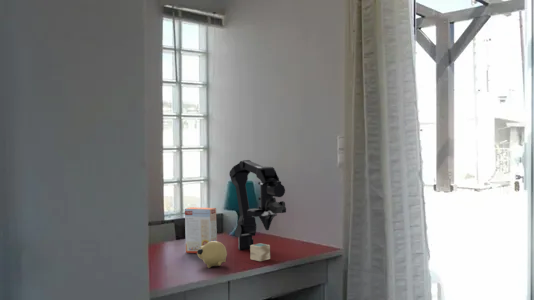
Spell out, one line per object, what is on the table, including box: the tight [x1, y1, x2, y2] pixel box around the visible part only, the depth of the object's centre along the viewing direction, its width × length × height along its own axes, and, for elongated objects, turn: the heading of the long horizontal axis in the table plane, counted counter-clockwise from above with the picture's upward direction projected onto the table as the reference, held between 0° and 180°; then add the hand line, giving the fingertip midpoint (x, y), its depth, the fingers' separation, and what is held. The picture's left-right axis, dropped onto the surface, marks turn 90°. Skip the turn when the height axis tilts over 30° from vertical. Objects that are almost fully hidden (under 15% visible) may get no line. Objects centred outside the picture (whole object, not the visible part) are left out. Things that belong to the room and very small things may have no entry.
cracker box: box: [184, 206, 218, 254], centre depth 235 cm, size 14×6×21 cm, turn 65°
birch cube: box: [249, 242, 271, 262], centre depth 216 cm, size 6×6×6 cm
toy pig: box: [196, 240, 228, 269], centre depth 207 cm, size 10×12×11 cm
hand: (267, 230), depth 224 cm, fingers closed
